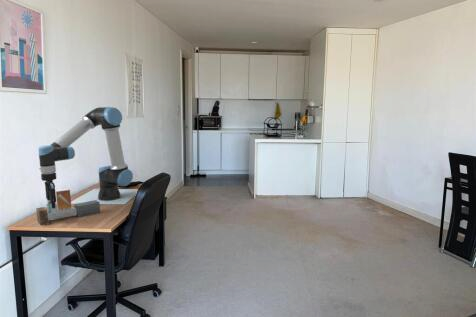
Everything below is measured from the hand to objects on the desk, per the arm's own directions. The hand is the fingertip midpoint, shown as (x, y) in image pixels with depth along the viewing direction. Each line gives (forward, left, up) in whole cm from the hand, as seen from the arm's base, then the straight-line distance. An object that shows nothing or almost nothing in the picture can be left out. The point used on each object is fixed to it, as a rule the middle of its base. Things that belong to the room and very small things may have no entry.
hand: (52, 212), depth 201 cm
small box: (-11, -20, -5) cm, 23 cm away
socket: (+5, 0, -5) cm, 7 cm away
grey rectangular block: (-19, 0, -5) cm, 20 cm away
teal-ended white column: (-4, 0, -4) cm, 6 cm away
